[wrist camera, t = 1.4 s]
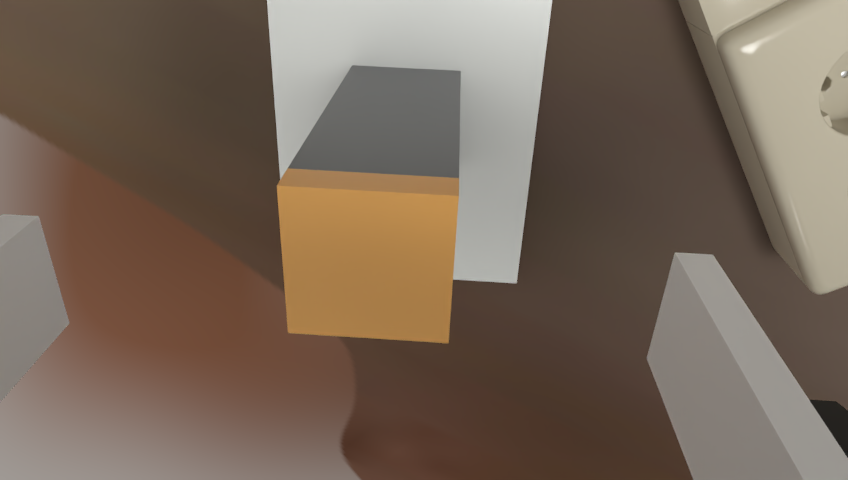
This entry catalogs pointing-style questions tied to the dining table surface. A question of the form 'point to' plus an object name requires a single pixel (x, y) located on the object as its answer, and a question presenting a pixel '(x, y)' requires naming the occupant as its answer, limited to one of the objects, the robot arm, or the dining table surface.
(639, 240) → the dining table surface
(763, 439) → the robot arm
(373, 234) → the plug
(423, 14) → the tray
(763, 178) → the electrical outlet
